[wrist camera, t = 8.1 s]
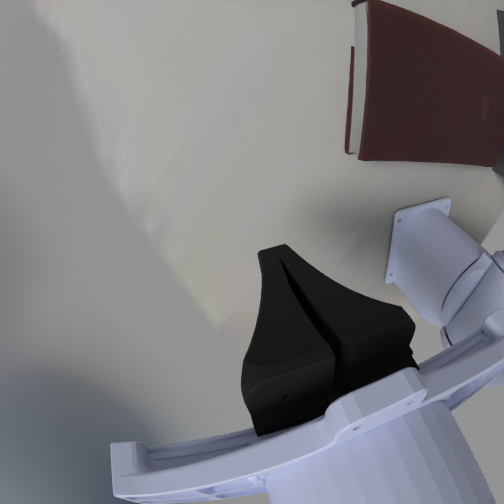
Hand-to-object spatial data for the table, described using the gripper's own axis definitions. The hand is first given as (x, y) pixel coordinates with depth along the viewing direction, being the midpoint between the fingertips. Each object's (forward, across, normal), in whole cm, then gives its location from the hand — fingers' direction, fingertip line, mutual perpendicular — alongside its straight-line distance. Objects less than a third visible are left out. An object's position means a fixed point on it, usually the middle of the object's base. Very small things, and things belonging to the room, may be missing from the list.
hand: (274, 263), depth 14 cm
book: (+10, -19, -5) cm, 22 cm away
